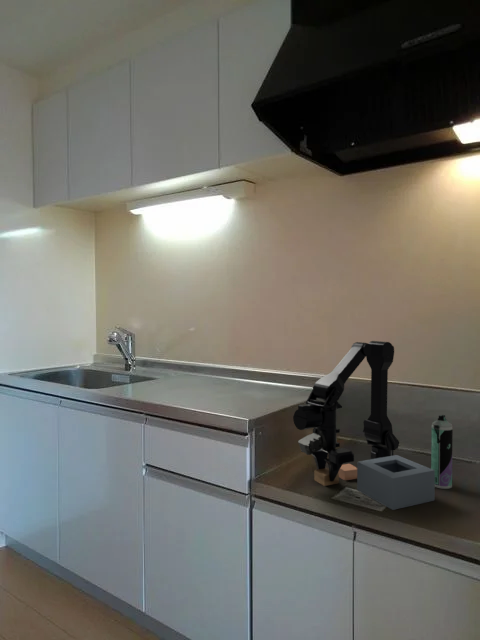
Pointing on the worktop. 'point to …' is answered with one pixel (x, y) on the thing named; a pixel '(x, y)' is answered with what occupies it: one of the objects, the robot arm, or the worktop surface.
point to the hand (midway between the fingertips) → (326, 478)
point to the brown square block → (324, 477)
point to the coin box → (396, 481)
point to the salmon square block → (348, 472)
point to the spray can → (442, 452)
